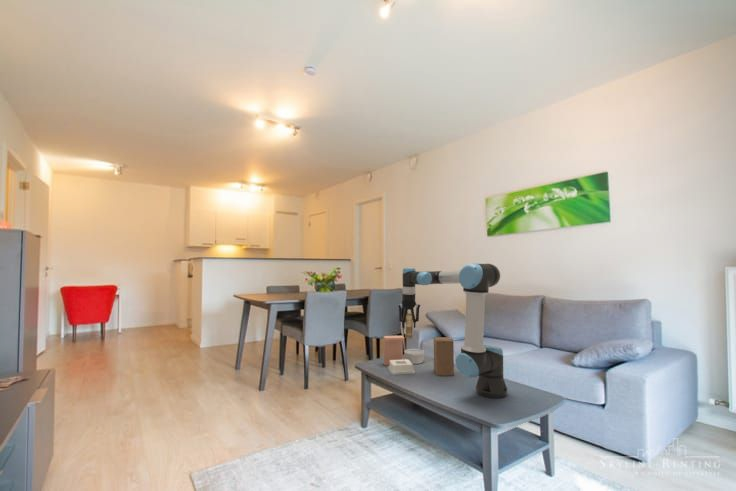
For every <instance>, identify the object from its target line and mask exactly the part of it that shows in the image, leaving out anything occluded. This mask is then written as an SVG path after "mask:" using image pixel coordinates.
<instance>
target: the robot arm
mask: <svg viewBox="0 0 736 491" xmlns="http://www.w3.org/2000/svg"><path fill="white" fill-rule="evenodd" d="M500 279H501V272H500V269H499V268H498V267H497V265H494V264H491V263H468V264H466V265H464V266H463V267H462V268H461V269H449V270H436V271H435V270H433V271H431V270H429V271H427V270H426V271H416V268H415V267H403V268H402V293H403V294H402V301H401V303H400V304H398V303H397V308H398V321H399V322H401V325H402V326H401V328H402V329H403V334H404V335H405V334H406V322H405V319H406V314H408V310H410V314H412V335H414V333H415V328H416V323H417V322H419V319H420V307H421V304H419V303H417V302H416V285H417V286H419V285H420V286H429V285H444V284H445V285H446V284H448V285H449V284H456V285H457V284H460V286H461V287H462V289H463V290H462V291H463V293H464V294H465V296H466V298H465V323H464V324H465V326H464V343H463V344H462V345H461V347H460V352H459V354H457V355H456V358H455V366H456V369H457V370H458V371H459V373H460V374H461V375H462V376H463V377H464V378H467V379H472V378H473V379H474V378H477V377H478V378H477V381H476V384H475V393H477V394H478V395H480V396H481V397H482V396H483V397H484V398H485V397H486V398H491V399H499V398H500V399H501V398H502V399H503V398H505V397H507V396H508V394H509V393H508V387H507V385H506V381H505V378H504V350H503V348H501V347H499V346H495V345H491V344H484V333H485V332H484V330H485V328H484V327H485V304H486V303H485V302H486V295H488V294H489V291H490V290H489V288H491V287H495V286H496V285H497V284H498V283H499V282H500V281H501V280H500ZM402 308H403V313H402ZM414 308H415V309H414Z"/></svg>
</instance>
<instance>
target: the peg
mask: <svg viewBox="0 0 736 491" xmlns="http://www.w3.org/2000/svg"><path fill="white" fill-rule="evenodd" d="M405 322H406V334H404V335H405V337H404V339H409V340H410V339H413V334H412V322H413V320H412V314H411V313H407V314H406V319H405Z"/></svg>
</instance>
